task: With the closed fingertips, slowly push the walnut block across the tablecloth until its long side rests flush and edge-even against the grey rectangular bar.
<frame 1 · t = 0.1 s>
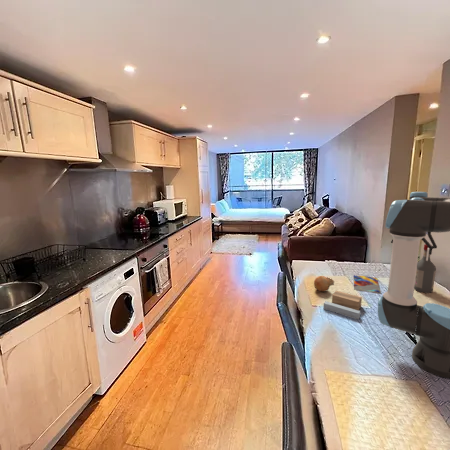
hand: (411, 257, 138), 28 cm above the table, fingers open, 13 cm apart
grey rectangular bar: (340, 312, 136), on the table
onion: (321, 290, 163), on the table
block: (346, 305, 144), on the table
liquor: (422, 290, 159), on the table
relief map: (366, 285, 170), on the table
wooden fragment: (324, 283, 174), on the table
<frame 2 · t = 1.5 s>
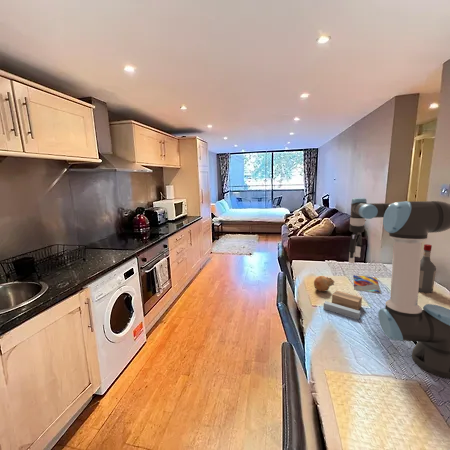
hand: (354, 259, 146), 25 cm above the table, fingers open, 13 cm apart
nothing on the table moved.
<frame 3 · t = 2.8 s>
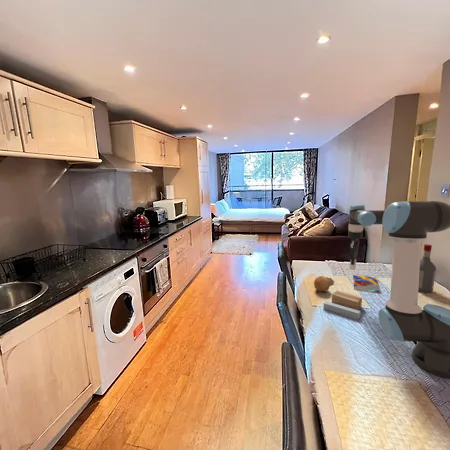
hand: (352, 269, 148), 19 cm above the table, fingers closed
nothing on the table moved.
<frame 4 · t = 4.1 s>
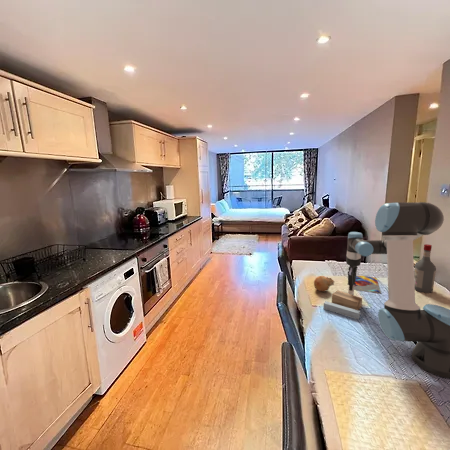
hand: (350, 294, 151), 2 cm above the table, fingers closed
nothing on the table moved.
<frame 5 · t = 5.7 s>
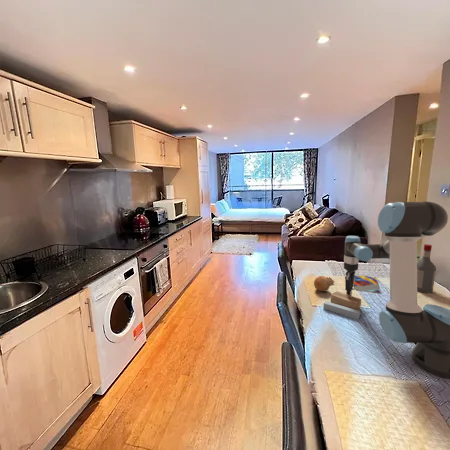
hand: (348, 300, 147), 1 cm above the table, fingers closed
block: (345, 306, 143), on the table
everything else where it was.
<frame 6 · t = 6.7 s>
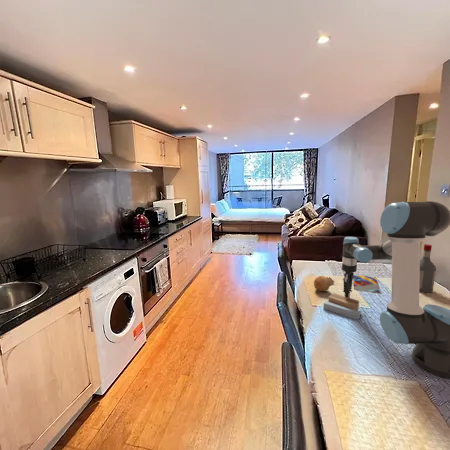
hand: (346, 302, 144), 1 cm above the table, fingers closed
block: (342, 308, 141), on the table
everything else where it was.
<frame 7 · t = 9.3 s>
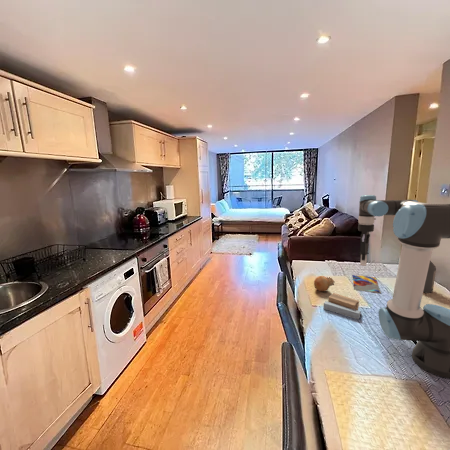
hand: (363, 265, 138), 25 cm above the table, fingers closed
nothing on the table moved.
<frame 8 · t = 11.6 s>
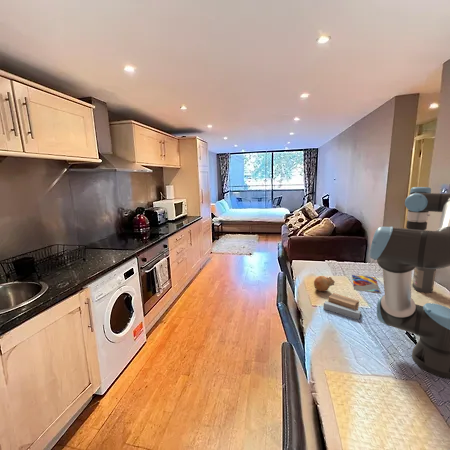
hand: (411, 268, 119), 29 cm above the table, fingers closed
nothing on the table moved.
at the end: block inside the target area on the table beside the grey rectangular bar (0.6 cm from its centre), on the table; block tilted 0°; block moved 4.7 cm from its start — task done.
